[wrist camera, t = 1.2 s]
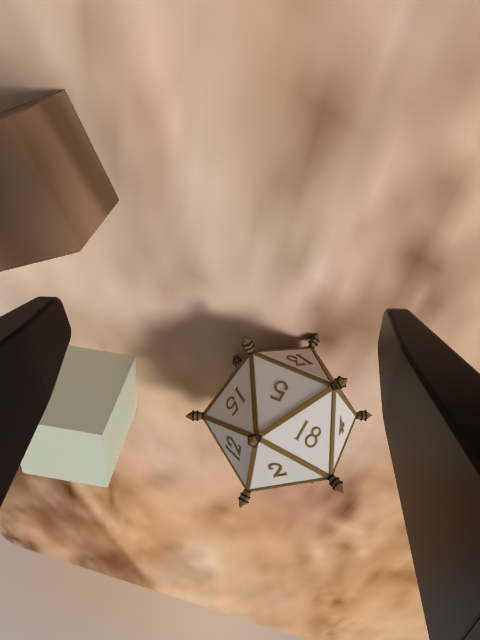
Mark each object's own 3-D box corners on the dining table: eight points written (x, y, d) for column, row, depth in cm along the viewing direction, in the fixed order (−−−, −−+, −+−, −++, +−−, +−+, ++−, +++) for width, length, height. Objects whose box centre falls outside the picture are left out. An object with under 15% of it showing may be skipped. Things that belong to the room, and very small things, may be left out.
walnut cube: (65, 89, 19) (3, 122, 15) (119, 199, 22) (79, 251, 18) (-30, 123, 20) (-109, 163, 16) (33, 223, 23) (-22, 277, 19)
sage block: (135, 356, 28) (102, 435, 24) (136, 408, 31) (107, 487, 27) (56, 342, 28) (6, 418, 24) (65, 396, 31) (23, 472, 27)
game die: (315, 318, 29) (438, 431, 23) (240, 415, 32) (333, 544, 25) (222, 275, 23) (358, 415, 17) (135, 400, 25) (225, 569, 19)
